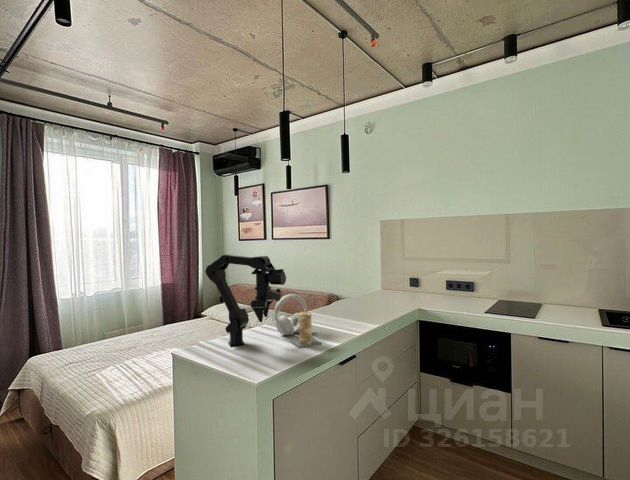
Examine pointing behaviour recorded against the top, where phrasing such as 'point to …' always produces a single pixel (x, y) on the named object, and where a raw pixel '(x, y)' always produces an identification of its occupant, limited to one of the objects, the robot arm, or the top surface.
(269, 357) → the top surface
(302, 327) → the oak block
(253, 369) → the top surface
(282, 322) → the headphones
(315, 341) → the rubber mat
